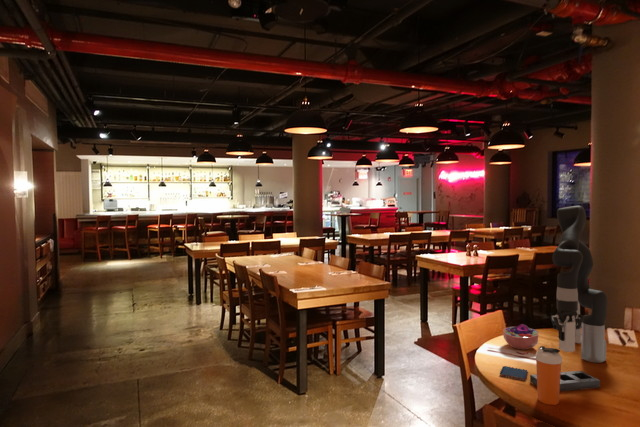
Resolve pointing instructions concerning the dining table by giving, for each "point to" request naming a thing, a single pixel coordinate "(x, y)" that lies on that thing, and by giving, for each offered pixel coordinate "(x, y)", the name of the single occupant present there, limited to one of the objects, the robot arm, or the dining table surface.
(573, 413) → the dining table surface
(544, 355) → the shaker bottle
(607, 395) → the dining table surface
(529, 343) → the cell model
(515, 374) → the woven mat
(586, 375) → the grey slotted frame
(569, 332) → the peg
